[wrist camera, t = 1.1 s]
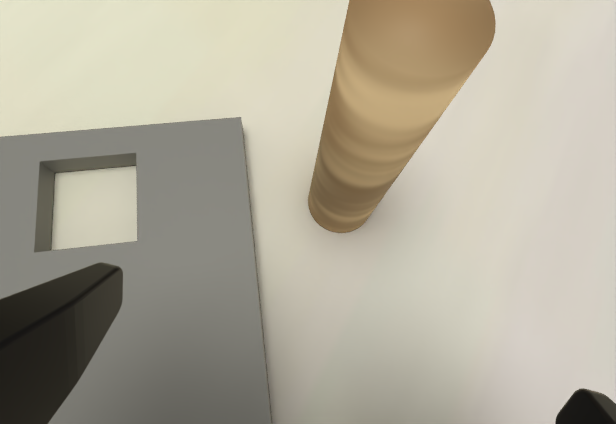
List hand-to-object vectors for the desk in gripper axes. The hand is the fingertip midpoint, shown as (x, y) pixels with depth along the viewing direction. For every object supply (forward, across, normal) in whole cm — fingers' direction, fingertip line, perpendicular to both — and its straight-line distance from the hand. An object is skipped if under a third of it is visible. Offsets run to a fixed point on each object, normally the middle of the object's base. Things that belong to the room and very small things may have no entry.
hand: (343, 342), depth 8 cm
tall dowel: (+15, 0, +4) cm, 16 cm away
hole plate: (+10, +10, +9) cm, 17 cm away
